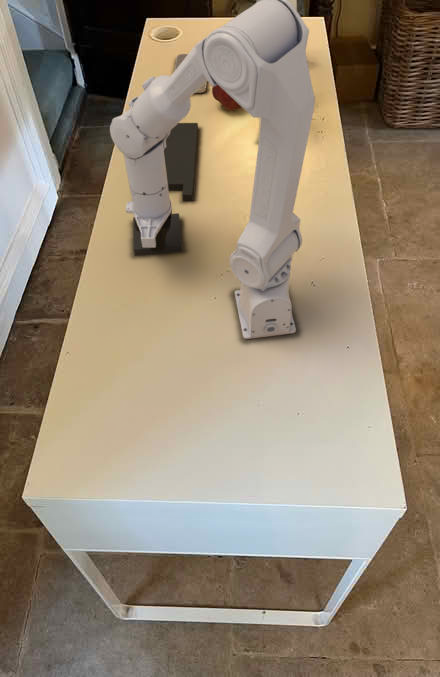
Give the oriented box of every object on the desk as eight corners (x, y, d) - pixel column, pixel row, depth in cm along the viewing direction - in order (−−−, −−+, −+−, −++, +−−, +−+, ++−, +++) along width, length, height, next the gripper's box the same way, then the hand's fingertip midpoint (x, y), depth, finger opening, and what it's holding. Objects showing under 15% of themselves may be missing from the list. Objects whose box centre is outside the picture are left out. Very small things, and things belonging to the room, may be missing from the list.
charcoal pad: (182, 251, 102) (181, 245, 100) (134, 256, 101) (133, 249, 100) (178, 208, 108) (178, 202, 107) (134, 212, 108) (133, 206, 107)
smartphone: (209, 53, 138) (205, 89, 129) (209, 57, 139) (205, 93, 130) (176, 54, 138) (171, 89, 129) (177, 57, 139) (171, 93, 130)
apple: (250, 117, 124) (250, 81, 118) (212, 118, 124) (210, 81, 118) (249, 97, 129) (249, 61, 122) (213, 98, 129) (211, 61, 122)
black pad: (192, 201, 109) (192, 194, 108) (137, 201, 110) (136, 195, 108) (198, 129, 122) (197, 122, 121) (149, 129, 123) (148, 123, 121)
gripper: (126, 152, 94) (138, 218, 105) (115, 215, 85) (129, 280, 96) (171, 152, 94) (179, 218, 105) (165, 215, 85) (173, 280, 96)
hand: (158, 248), depth 101 cm, fingers closed, pressing on charcoal pad
